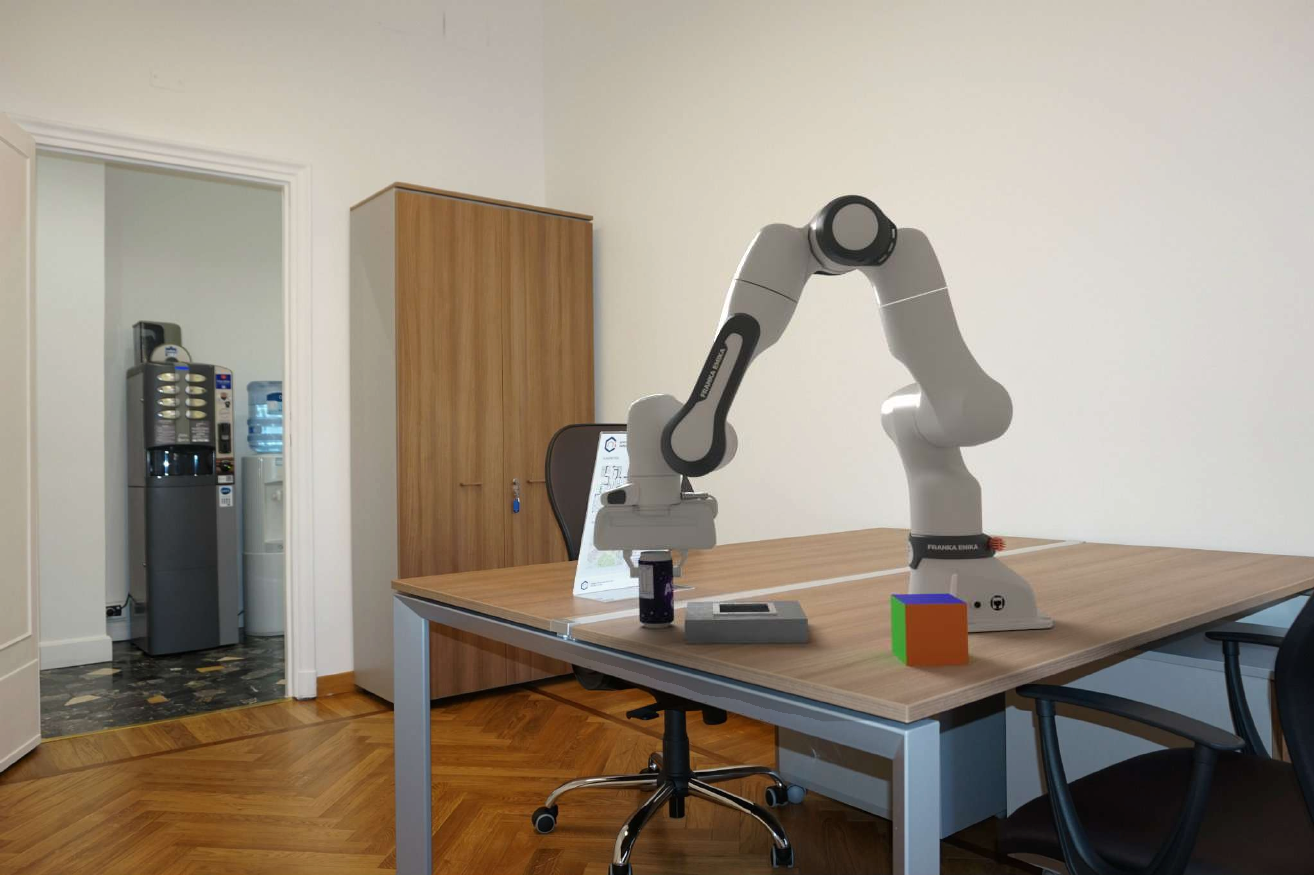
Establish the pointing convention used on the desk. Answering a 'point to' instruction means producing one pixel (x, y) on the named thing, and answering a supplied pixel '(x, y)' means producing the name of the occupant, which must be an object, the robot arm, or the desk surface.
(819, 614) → the desk surface
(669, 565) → the beverage can
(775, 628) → the housing
